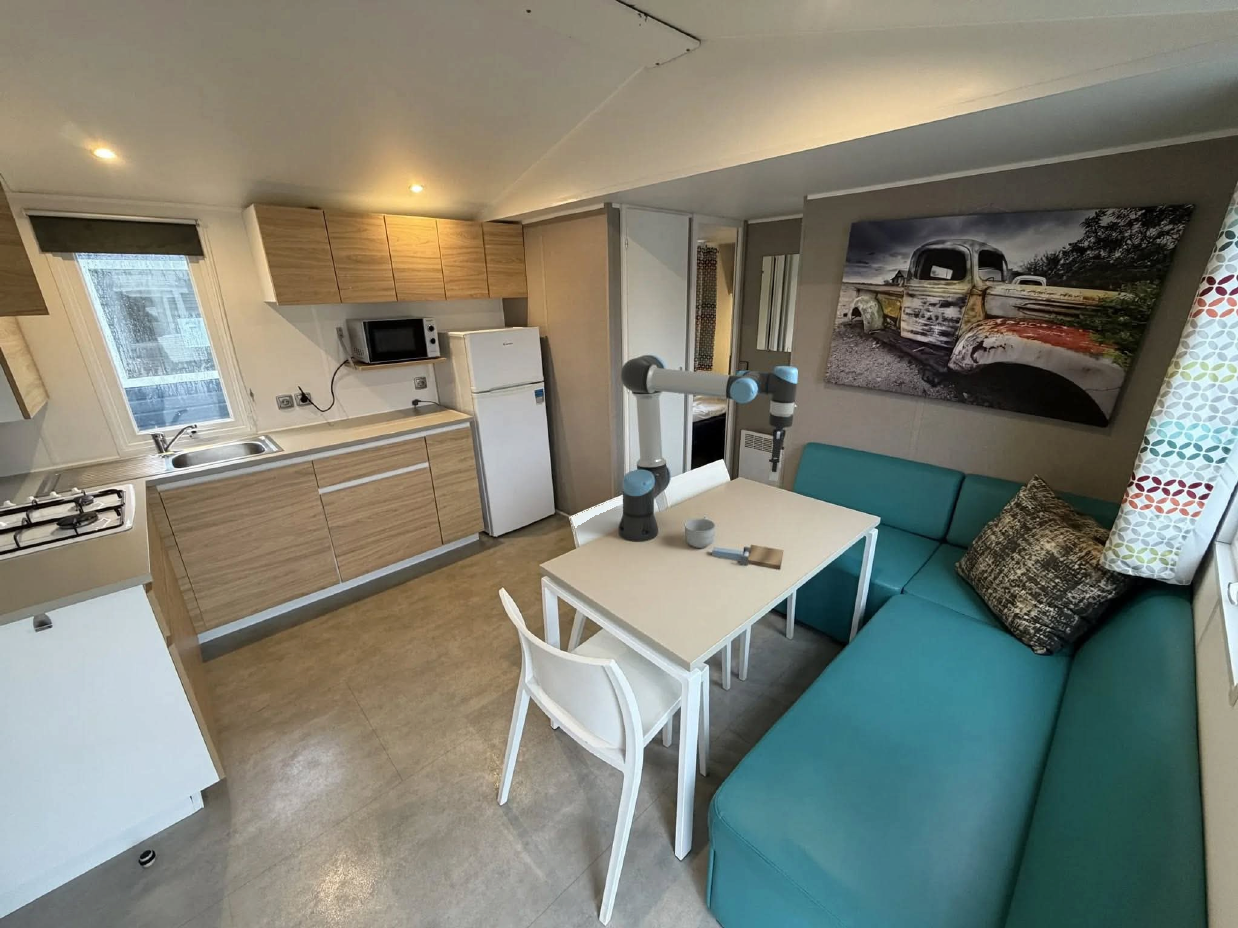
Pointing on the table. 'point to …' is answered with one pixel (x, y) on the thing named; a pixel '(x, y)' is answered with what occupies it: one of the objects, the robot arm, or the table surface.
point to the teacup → (700, 532)
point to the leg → (728, 553)
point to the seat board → (765, 556)
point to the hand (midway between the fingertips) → (774, 473)
